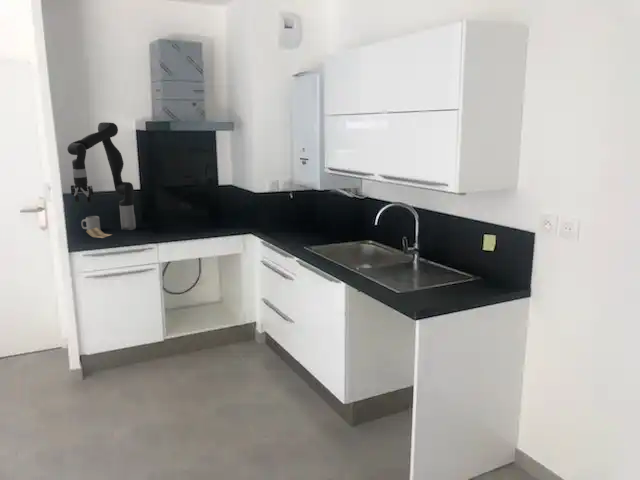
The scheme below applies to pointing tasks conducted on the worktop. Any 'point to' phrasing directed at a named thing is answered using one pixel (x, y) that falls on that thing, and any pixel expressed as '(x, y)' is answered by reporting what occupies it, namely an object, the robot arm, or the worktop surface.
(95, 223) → the mug
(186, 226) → the worktop surface
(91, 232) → the plank
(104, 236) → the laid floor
